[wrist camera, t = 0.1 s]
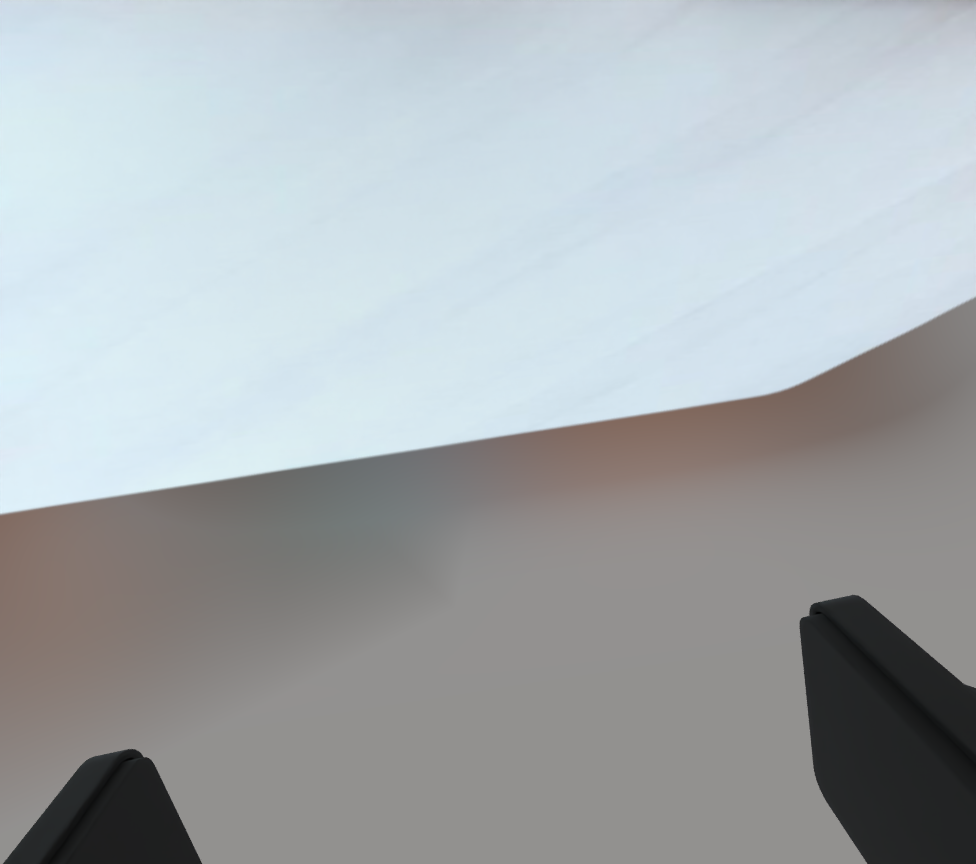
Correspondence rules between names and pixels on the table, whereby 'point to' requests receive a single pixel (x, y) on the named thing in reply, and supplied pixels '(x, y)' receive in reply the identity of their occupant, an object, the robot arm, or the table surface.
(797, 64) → the table surface
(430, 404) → the table surface
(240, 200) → the table surface
